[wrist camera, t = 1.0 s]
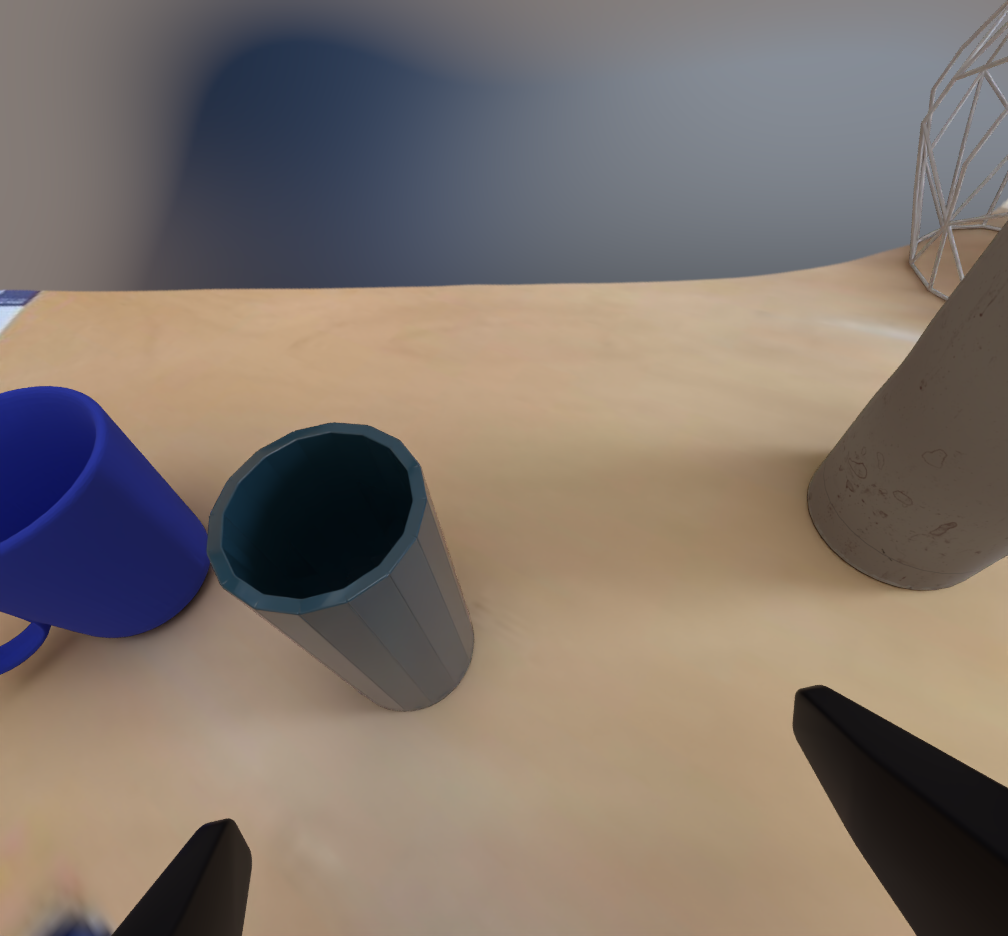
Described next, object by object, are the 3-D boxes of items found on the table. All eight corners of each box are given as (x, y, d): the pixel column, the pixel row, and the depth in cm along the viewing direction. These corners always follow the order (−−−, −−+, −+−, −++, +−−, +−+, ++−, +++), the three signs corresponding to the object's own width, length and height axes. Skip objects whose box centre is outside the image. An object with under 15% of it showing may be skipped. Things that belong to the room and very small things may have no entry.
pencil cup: (461, 721, 22) (393, 627, 12) (332, 701, 23) (165, 597, 13) (483, 591, 26) (445, 430, 15) (370, 578, 26) (260, 415, 16)
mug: (-39, 651, 26) (-315, 566, 17) (180, 483, 30) (46, 355, 22) (32, 774, 22) (-266, 741, 14) (265, 564, 27) (145, 448, 19)
